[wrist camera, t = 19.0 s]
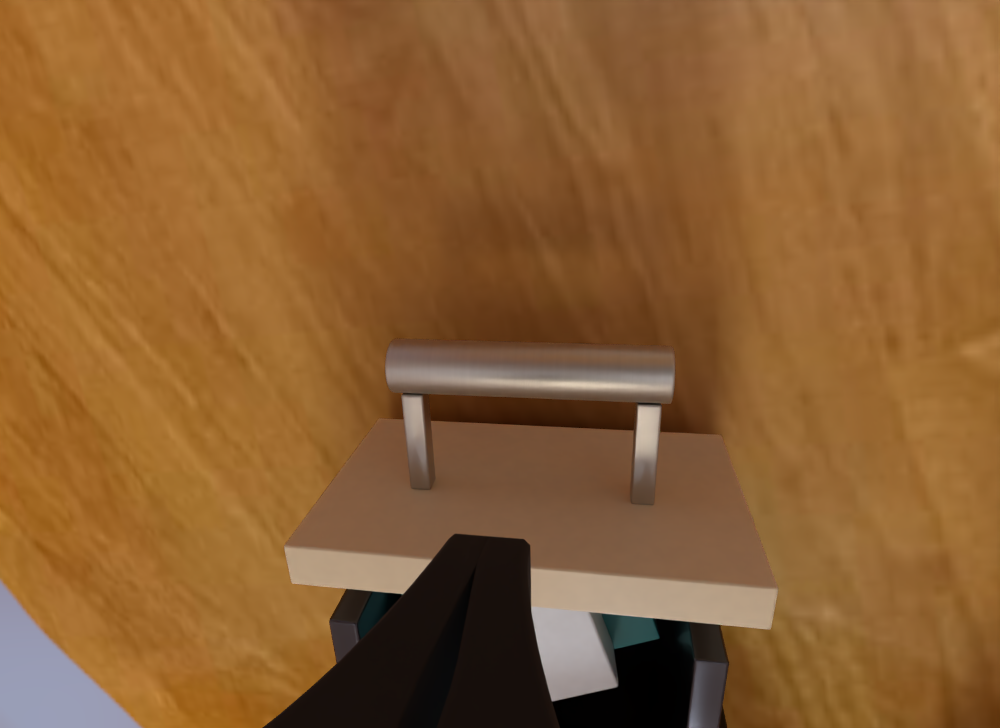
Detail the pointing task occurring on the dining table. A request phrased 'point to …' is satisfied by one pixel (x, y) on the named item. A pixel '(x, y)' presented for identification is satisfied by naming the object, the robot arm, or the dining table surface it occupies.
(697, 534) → the drawer
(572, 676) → the toy car
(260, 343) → the dining table surface
